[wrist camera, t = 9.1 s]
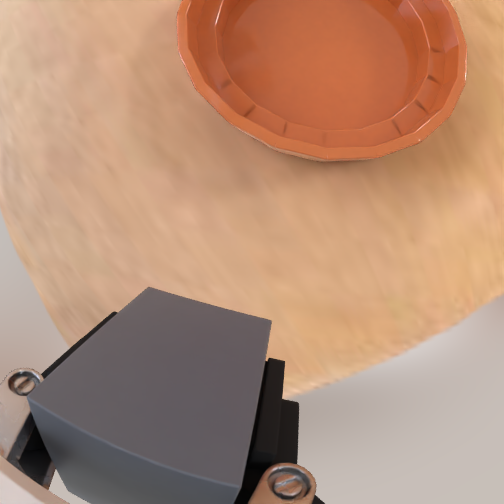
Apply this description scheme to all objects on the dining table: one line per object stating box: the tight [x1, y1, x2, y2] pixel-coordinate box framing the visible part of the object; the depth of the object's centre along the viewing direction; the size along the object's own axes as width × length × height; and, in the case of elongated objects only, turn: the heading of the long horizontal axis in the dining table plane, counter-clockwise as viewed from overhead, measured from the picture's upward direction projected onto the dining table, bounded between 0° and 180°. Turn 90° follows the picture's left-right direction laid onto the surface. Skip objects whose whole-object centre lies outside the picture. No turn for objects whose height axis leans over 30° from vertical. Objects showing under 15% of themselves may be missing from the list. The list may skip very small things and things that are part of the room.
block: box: [26, 287, 272, 504], centre depth 8 cm, size 4×4×6 cm
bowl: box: [177, 0, 467, 162], centre depth 14 cm, size 16×16×4 cm
